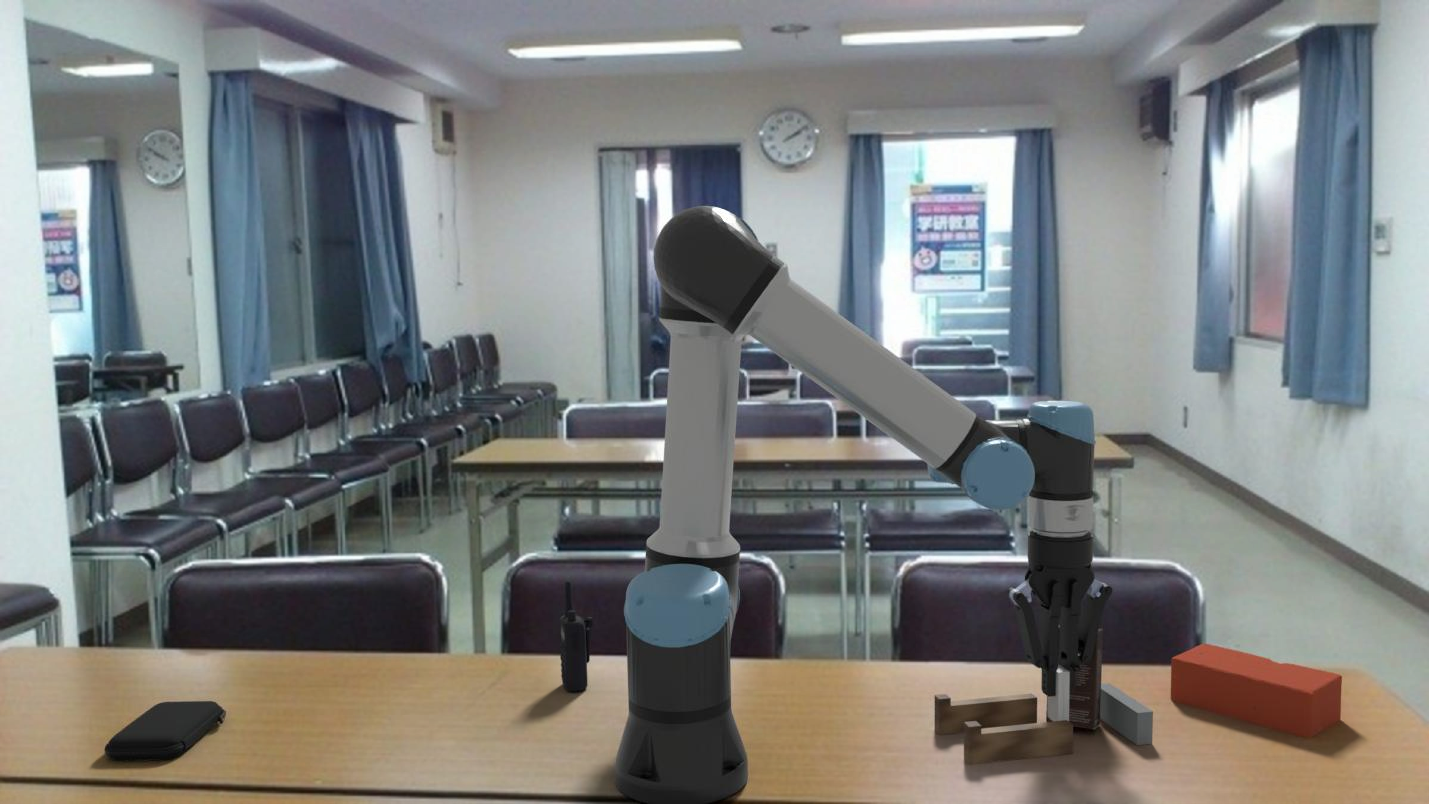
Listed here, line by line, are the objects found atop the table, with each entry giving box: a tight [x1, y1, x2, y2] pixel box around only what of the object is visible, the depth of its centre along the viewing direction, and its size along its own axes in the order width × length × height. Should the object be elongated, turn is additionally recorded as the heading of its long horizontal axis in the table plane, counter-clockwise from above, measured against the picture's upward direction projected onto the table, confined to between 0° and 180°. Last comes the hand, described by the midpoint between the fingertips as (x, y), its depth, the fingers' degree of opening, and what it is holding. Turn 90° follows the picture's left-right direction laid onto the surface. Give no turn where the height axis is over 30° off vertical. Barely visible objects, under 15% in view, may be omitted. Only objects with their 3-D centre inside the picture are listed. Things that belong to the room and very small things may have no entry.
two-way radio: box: [559, 579, 594, 692], centre depth 164 cm, size 6×4×15 cm
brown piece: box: [934, 693, 1074, 765], centre depth 142 cm, size 13×11×4 cm
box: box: [1045, 624, 1104, 731], centre depth 147 cm, size 6×4×12 cm
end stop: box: [1100, 682, 1154, 746], centre depth 146 cm, size 2×10×4 cm, turn 11°
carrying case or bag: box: [104, 700, 227, 762], centre depth 149 cm, size 11×3×15 cm
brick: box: [1170, 643, 1343, 739], centre depth 151 cm, size 18×9×6 cm, turn 41°
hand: (1058, 719), depth 144 cm, fingers closed
